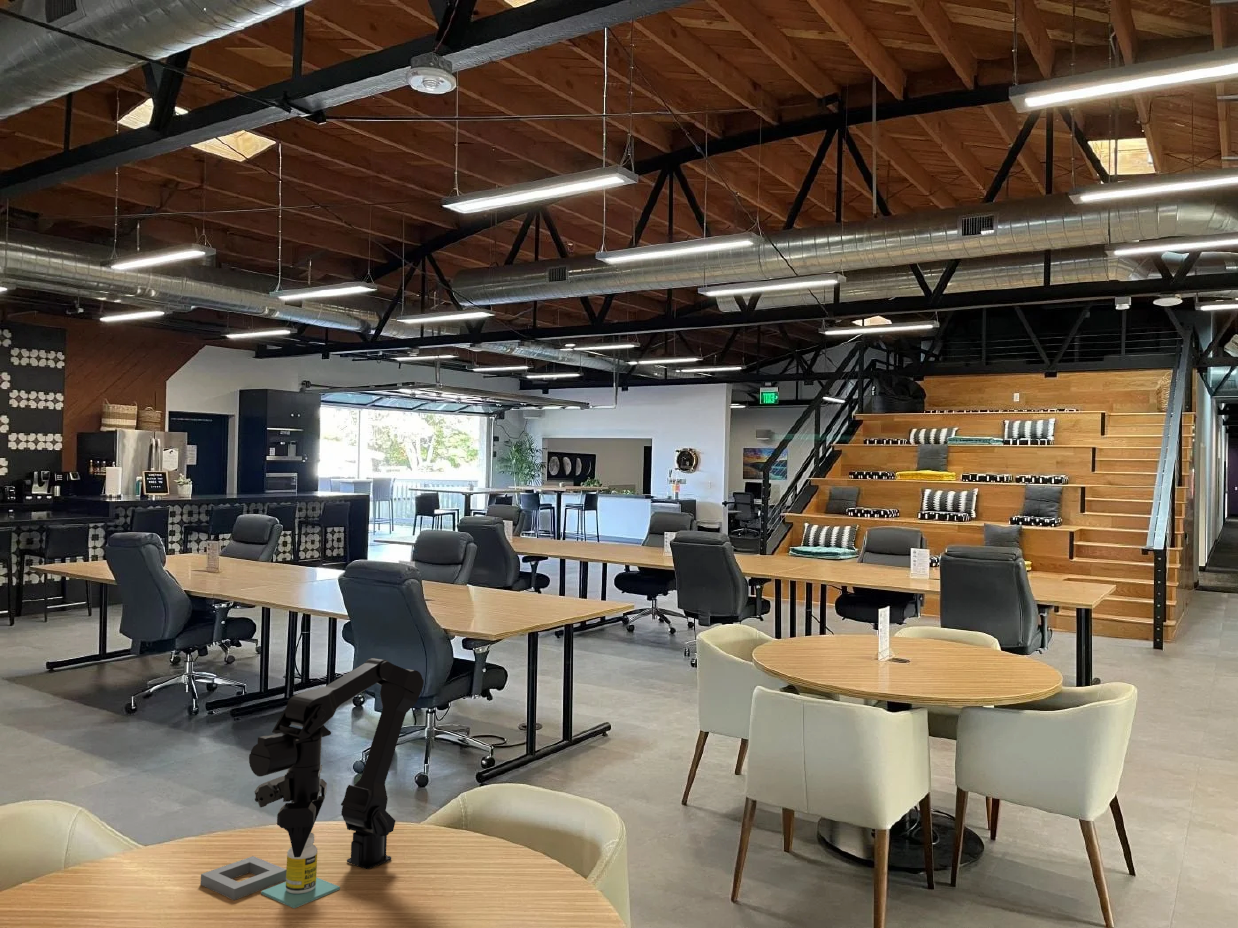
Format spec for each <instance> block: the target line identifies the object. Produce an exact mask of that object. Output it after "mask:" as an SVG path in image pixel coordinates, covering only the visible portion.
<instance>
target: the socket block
mask: <svg viewBox="0 0 1238 928" xmlns="http://www.w3.org/2000/svg"><path fill="white" fill-rule="evenodd" d="M286 869H287V868H285V867H281V866H279V865H276V864H274V863H271V862H268V860H267V861H266V860H264V859H262V858H259V857H256V856H254V855H252V856H249V857H247V858H244V859H243V858H242V859H241V860H238V861H235V862H232V863H229V864H226V865H224V866H219V867H217V868H213V869H211V870H209V871H206V872H203V873H201V874H200V886H202V887H205V888H206V889H209V890H211V891H213V892H215V893H217V894H220V895H222V896H224V897H227V898H228V899H231V900H232V901H236V900H238V899H241V898H244V897H247V896H249V895H251V894H254V893H256V892H261V891H263V890H265V889H268V888H271V887H273V886H276V885H278V884H281V883H284V882H286ZM246 874H251V875H254V876H251V877H248V878H246V879H243V880H240V881H237V880H235V878H238V877H241V876H244V875H246Z"/></svg>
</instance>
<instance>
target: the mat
mask: <svg viewBox="0 0 1238 928" xmlns="http://www.w3.org/2000/svg"><path fill="white" fill-rule="evenodd" d="M340 889H341V886H339V885H336V884H334V883H332V882H329V881H327V880H324V879H322V878H319V877H318V876H316V886H315V888H314V889H313V890H311V891H310V892H307V893H303V894H292V893H289V892H287V891H286V881H283V882H280V883H278V884H275V885H273V886H270V887H267V888H265V889H262V890H260V894H261V895H263V896H265V897H267V898H270V899H271V900H274V901H276V902H279V903H281V904H283V905H285V906H287V907H290V908H291V909H296V908H298V907H301V906H303V905H306V904H309V903H311V902H313V901H315V900H318V899H320V898H322V897H325V896H328V895H330V894H332V893H334V892H337V891H339V890H340Z"/></svg>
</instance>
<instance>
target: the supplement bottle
mask: <svg viewBox="0 0 1238 928" xmlns="http://www.w3.org/2000/svg"><path fill="white" fill-rule="evenodd" d="M314 843H315V834H314V833H313V832H311V833H310V834H309V837H308V839H307V842H306V844H305V847H304V849H303V852H302V854H301V856H300V857H294V854H293V850H292V846H291V847H289V849H288V850H287V852H286V853H287V854H286V868H285V869H286V881H285V882H286V891H287V892H289V893H292V894H303V893H307V892H310V891H311V890H313V889H314V888H315V886H316V877H317V871H318V870H317V867H318V847H317V845H315V844H314Z"/></svg>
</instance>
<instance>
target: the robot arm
mask: <svg viewBox="0 0 1238 928" xmlns="http://www.w3.org/2000/svg"><path fill="white" fill-rule="evenodd" d="M424 683H425V680H424V678H423V677H422V674H421V672H420V671H418V670H414V669H409V668H403V667H400V666H398V665H396V664H393V663H392V662H390V661H388V660H387V659H380V658H375V657H373V658H372V657H371V658H369V659H367V660H366V661H365V662H364V663H363V664H361V665H359V666H358V667H356V668H354V669H353V670H351V671H348V673H346V674H344V675H342V676H340V677H338V678H337V679H335V680H333V681H332V682H330V683H329V684H327V685H325V686H323V687H320V688H315V689H310V690H305V691H302V692H300V693H298V694H295V695H293V696H291V697H290V698H289V699H288V700H287V704H286V707H285V709H284V710H283V712H282V714H281V716H280V717H279V719H278V720H277V722H276V724H275V726H274V728H273V729H272V733H271V735H262V736H258V737H257V744H254V746H253V747H252V748H251V750H250V753H249V755H248V763H249V767H250V770H251V771H252V773H253V774H254V775H255V776H257V777H265V776H268V775H271V774H276V773H279V772H282V771H285V770H287V771H286V772H285V773H284V775H283V776H282V775H281V776H278V777H276V778H274V779H271V780H269V781H266V782H263V783H260V784H259V785H258V786H257V787H256V789H254V791H253V792H254V795H255V798H254V801H255V802H256V803H258V806H259V808H264V807H266V806H267V805H269V804H271V803H272V804H273V803H274V802H276V801H279V800H281V799H282V801H283V802H285V804H284V805H283V806H281V808H280V809H279V811H278V813H277V815H276V826H279V828H280V829H284V830H285V831H287V833H288V836H289V840H290V845H291V847H292V850H293V854H294V857H300V856H301V854H302V852H303V849H304V847H305V844H306V842H307V839H308V837H309V834H310V833H312V830H313V828H314V825H315V824H316V820H317V819H318V816H319V813H320V811H321V808H322V806H323V803H324V801H325V799H326V795H327V791H328V790H327V789H328V787H327V785H328V783H327V781H326V780H324V779H323V778H321V773H322V771H323V764H322V763H321V762H322V759H321V758H322V740H323V739H322V738H325V737H328V736H331V734H332V731H331V730H329V729H328V728H327V727H326V726H325V724H326V723H328V722H329V720H331V719H332V718H333V717H334V716H335V713H336V711H337V710H338V709H339V708H340V706H342V705H343V704H345V703H346V702H349V701H350V700H352V699H354V697H357V696H358V695H359V694H361V693H363V692H364V691H366V690H367V689H369V688H370V687H372V686H374V685H376V684H377V685H379V686H380V692H379V695H380V701H381V706H382V709H381V712H380V716H379V720H378V723H377V725H376V729H375V732H374V735H373V739H372V742H371V745H370V749H369V751H368V754H367V757H366V761H365V764H364V767H363V771H362V774H361V776H360V778H359V780H358V781H356V783H355V784H354V785H351V784H348V785H347V787H346V789H345V793H344V798H343V800H342V801H341V803H340V806H342V807H341V816H342V818H343V821H344V822H345V826H346V829H347V831H353V832H352V841H351V844H350V858H347V859H346V862H347V863H348V864H350V865H353V866H357V867H359V868H362V869H364V870H370V869H373V868H375V867H377V866H380V865H382V864H384V863H388V862H389V861H391V860H392V856H389V855H387V846H388V845H387V844H388V842H387V840H388V836H389V834H390V833H392V832H394V829H395V825H396V819H395V818H394V817H392V815H391V814H390V813H389V812H388V811H387V804H388V799H389V798H388V794H387V793H388V792H387V790H386V789H387V788H386V780H387V777H388V774H389V771H390V768H391V764H392V761H393V757H394V754H395V750H396V748H397V745H398V742H399V737H400V734H401V732H402V728H403V725H404V720H405V717H406V715H407V713H408V712H409V711H410V710H411V709H412V708H413V707H414V705H416V704H417V702H418V700H419V697H420V695H421V694H422V693H421V692H422V691H423V687H424ZM291 725H292V726H291ZM299 727H300V728H299Z"/></svg>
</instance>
